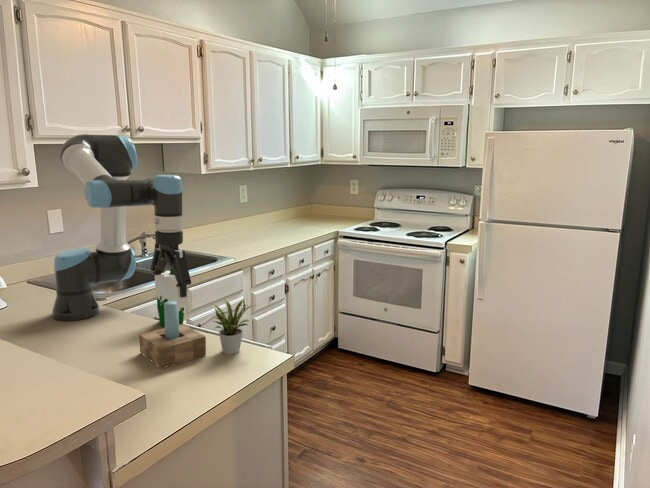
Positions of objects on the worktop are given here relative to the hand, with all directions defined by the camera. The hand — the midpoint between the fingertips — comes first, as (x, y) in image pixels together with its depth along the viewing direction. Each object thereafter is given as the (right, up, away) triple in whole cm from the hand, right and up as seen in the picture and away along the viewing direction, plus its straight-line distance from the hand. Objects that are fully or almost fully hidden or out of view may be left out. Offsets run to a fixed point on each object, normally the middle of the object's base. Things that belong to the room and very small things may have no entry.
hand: (170, 301), depth 143 cm
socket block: (0, -16, +3) cm, 16 cm away
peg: (0, -16, +3) cm, 16 cm away
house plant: (+18, -16, +7) cm, 25 cm away
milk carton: (-9, -11, +29) cm, 32 cm away
